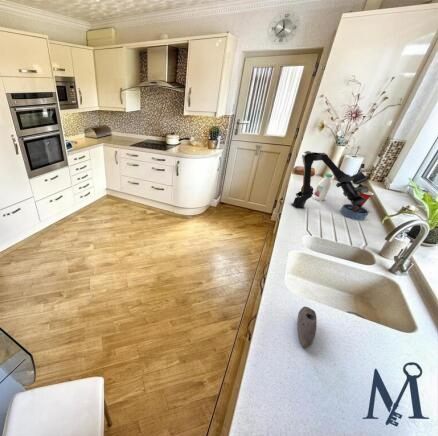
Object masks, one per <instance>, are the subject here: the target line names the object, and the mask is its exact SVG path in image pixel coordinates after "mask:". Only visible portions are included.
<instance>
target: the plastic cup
mask: <svg viewBox="0 0 438 436" xmlns="http://www.w3.org/2000/svg"><path fill="white" fill-rule="evenodd" d="M374 194H375V193H373V192H372V191H370V190H368V192H367V193H360V195H359V196H362V197H364V199H365V200H366V201H365V202H363V203H361V207H363V205H364V204H365V203H367V201H368V200H369V199H370V198H371V197H372V196H374ZM351 205H353V204H352V203H351Z"/></svg>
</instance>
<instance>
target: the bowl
mask: <svg viewBox="0 0 438 436" xmlns="http://www.w3.org/2000/svg"><path fill="white" fill-rule="evenodd" d="M354 207H355V206H354V205H352V203H351V204H349V203H345V204H342V206H341V208H340V210H339V213H340V214H342V215H343V216H345V217H346V218H349V219H352V220H357V221H358V220H359V221H363V220H366V219H367V217H368V216H369V214H370V211H369V210H368V209H366V208H364V207H363V206H361V207H359V208H358V210H357V212H358V213H356V212H353V211H350V210H353V209H354Z"/></svg>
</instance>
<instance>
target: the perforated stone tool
mask: <svg viewBox="0 0 438 436" xmlns="http://www.w3.org/2000/svg"><path fill="white" fill-rule="evenodd" d="M317 320H318V319H317V313H316V311H315V310H314V309H312V308H311V307H309V306H305V305H304V306H303V307H301V308H300V310H299V311H298V314H297V320H296V321H297V322H296V328H297V329H296V330H297V337H298V341H299V344H300V347H301V348H302V349H304V350H307V349H309V348H310V347H311V346H312V344H313V343H314V341H315V337H316V334H317V328H318V327H317Z"/></svg>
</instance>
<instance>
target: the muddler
mask: <svg viewBox="0 0 438 436" xmlns="http://www.w3.org/2000/svg"><path fill="white" fill-rule="evenodd" d="M363 198H364V197H363ZM358 208H359V207H358V206H355V207H354V209H353V210H350V211H353V212H356V213H358V212H357V210H358Z"/></svg>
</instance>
